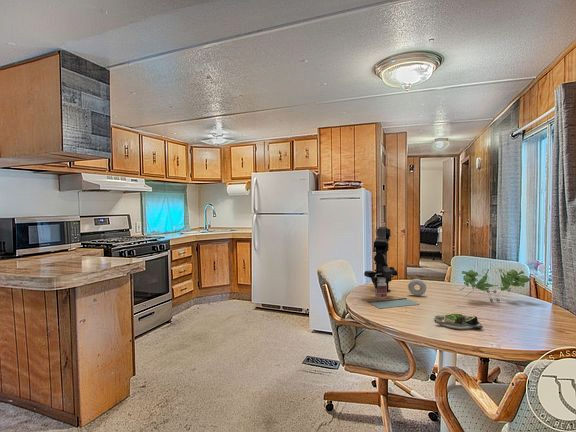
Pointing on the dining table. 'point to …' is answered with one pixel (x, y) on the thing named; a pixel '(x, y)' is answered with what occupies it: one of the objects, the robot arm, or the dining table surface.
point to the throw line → (386, 300)
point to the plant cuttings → (506, 283)
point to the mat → (394, 303)
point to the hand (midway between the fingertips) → (381, 288)
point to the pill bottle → (381, 288)
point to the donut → (420, 283)
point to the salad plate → (458, 321)
